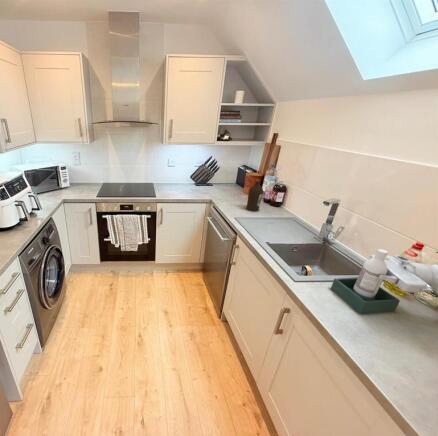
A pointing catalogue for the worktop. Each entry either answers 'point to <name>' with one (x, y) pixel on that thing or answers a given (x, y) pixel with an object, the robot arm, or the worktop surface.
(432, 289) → the robot arm
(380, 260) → the bath foam
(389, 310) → the tray
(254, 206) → the olive oil
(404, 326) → the worktop surface
